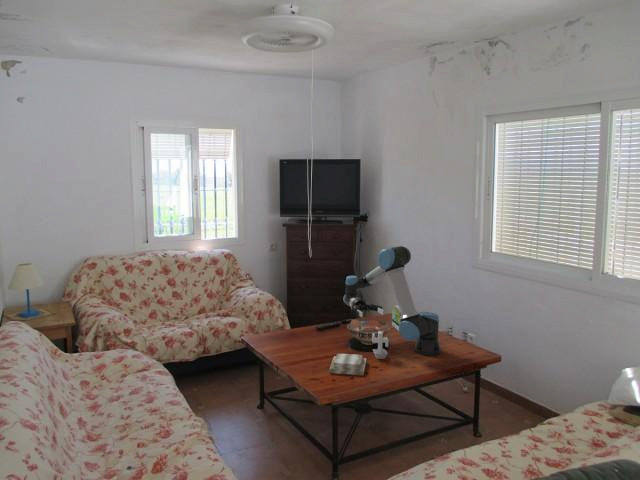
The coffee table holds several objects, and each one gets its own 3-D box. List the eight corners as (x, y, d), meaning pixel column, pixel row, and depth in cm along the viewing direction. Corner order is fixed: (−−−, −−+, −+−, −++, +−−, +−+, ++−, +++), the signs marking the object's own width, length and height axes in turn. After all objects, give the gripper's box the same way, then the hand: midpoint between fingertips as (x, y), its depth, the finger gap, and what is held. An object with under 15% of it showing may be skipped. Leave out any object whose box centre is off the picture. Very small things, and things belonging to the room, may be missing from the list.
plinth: (366, 362, 286) (366, 353, 286) (363, 375, 269) (363, 366, 268) (334, 360, 289) (334, 351, 289) (329, 373, 272) (329, 363, 271)
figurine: (389, 359, 291) (390, 333, 289) (373, 360, 290) (373, 334, 288) (386, 354, 298) (387, 329, 296) (370, 355, 297) (370, 330, 295)
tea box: (391, 326, 351) (391, 305, 349) (405, 325, 354) (405, 304, 352) (400, 333, 337) (400, 311, 335) (414, 331, 339) (414, 310, 337)
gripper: (375, 308, 324) (391, 317, 305) (339, 312, 316) (353, 322, 296) (376, 296, 323) (392, 305, 303) (339, 300, 315) (353, 309, 295)
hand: (372, 313), depth 300 cm, fingers open, 13 cm apart
